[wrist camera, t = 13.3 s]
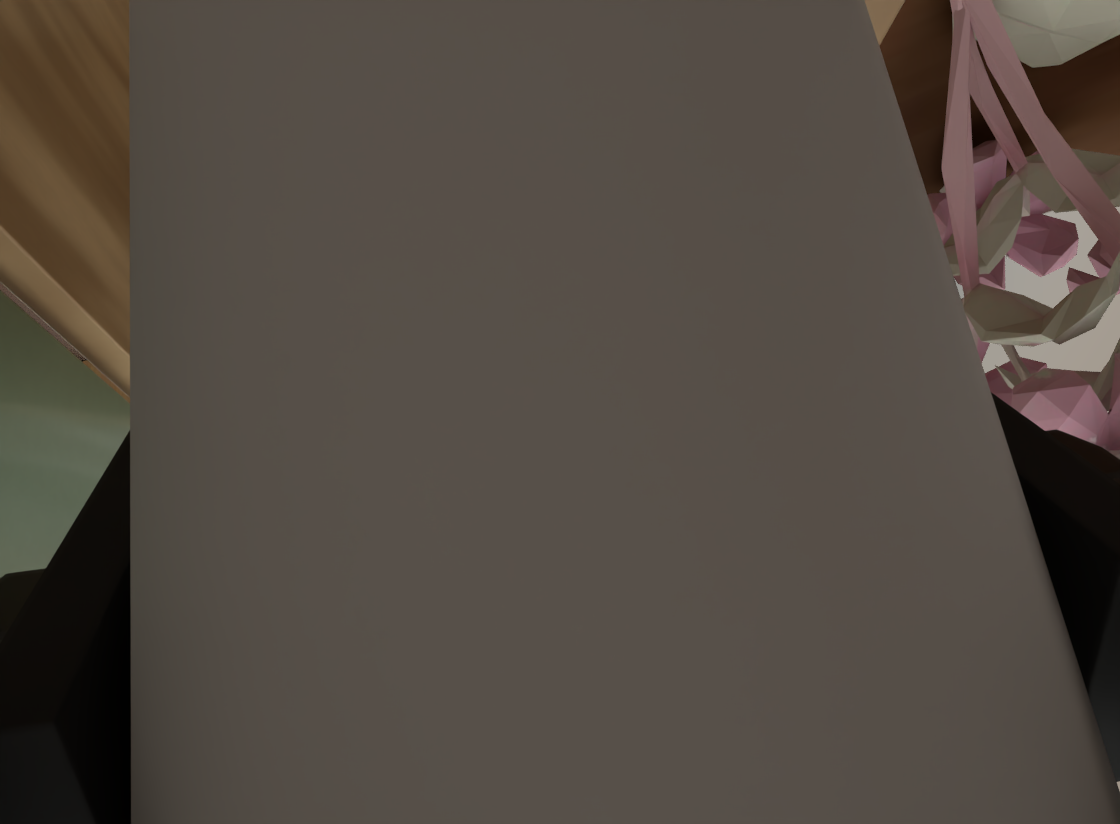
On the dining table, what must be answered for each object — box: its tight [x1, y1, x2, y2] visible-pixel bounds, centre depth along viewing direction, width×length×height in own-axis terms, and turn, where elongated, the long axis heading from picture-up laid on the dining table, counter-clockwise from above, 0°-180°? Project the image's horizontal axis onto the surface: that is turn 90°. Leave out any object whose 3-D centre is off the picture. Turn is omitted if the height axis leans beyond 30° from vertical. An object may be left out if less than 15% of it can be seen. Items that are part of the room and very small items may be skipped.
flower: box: [928, 0, 1120, 459], centre depth 36 cm, size 20×22×25 cm
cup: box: [129, 0, 1120, 824], centre depth 10 cm, size 8×8×10 cm
